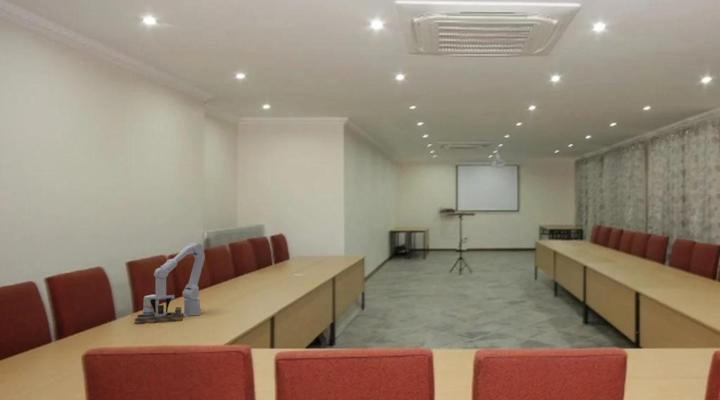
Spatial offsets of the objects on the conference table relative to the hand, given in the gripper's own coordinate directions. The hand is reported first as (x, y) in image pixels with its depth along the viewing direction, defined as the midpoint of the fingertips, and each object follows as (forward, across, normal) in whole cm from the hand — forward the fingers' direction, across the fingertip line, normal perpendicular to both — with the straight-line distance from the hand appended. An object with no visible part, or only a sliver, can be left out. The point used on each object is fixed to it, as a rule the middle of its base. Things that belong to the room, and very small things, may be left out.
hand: (160, 311), depth 265 cm
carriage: (+3, 0, 0) cm, 3 cm away
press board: (+5, 0, 0) cm, 5 cm away
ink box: (+5, -7, +16) cm, 18 cm away
